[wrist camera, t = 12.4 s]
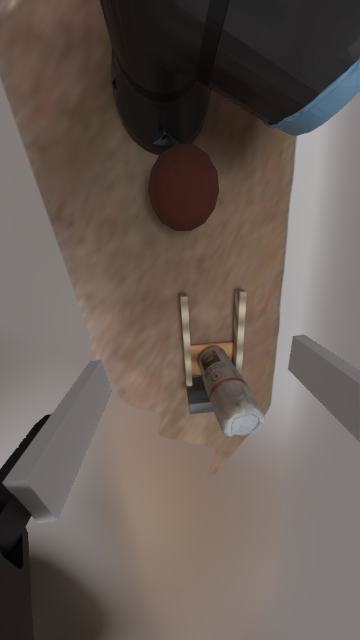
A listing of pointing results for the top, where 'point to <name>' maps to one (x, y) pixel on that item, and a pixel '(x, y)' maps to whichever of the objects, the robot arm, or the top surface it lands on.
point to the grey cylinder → (229, 393)
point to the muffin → (183, 187)
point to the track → (191, 352)
